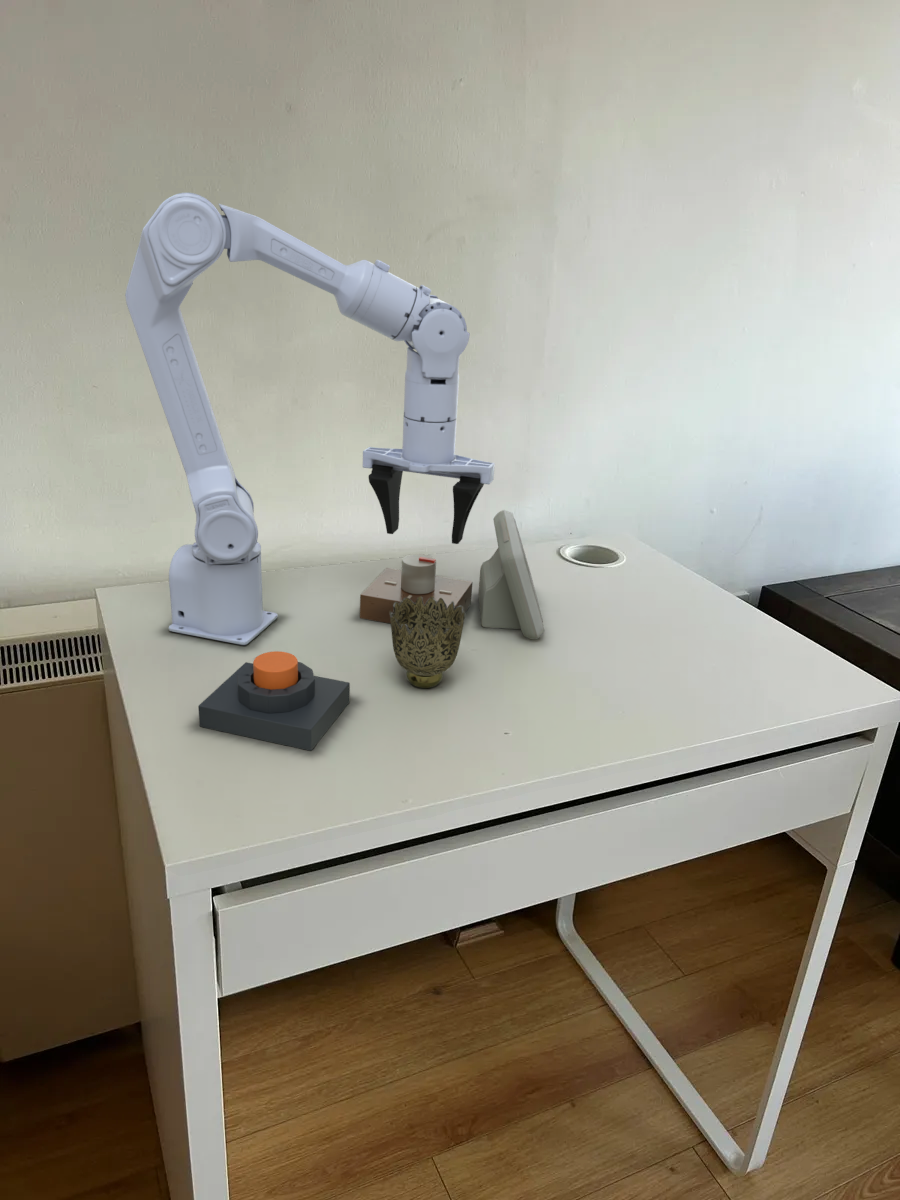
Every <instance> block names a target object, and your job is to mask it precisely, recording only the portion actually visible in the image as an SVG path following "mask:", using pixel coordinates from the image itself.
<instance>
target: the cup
mask: <svg viewBox="0 0 900 1200" xmlns="http://www.w3.org/2000/svg"><path fill="white" fill-rule="evenodd" d="M389 613H390V620H391V624H390V628H391V632H390V633H391V641H392V648H393V653H394V656H395V659H396V661H397V663H398V664H399V665H400V667H401V668H403V669H404V670H405V671H406V672H405V675H406V678H407V681H408V682H409V684H411V685H412V686H414V687H416V688H420V689H421V688H422V689H430V688H434V687H436V686H438V685H439V684H440V683H441V681H442V679H443V677H444V674H443V673H445V672H446V671H448V669H450V668H451V666H452V665H453V664H454V663H455V661H456V658H457V656H458V652H459V649H460V645H461V642H462V641H461V640H462V635H463V629H464V624H465V620H466V619H465V618H466V612H463V606H457V607H456V608H455V605H454V602H453V601H452V602H451V603H450V604H449V606H448V607H447V605H446V603H445V602H444V600H443V599H442V598H439V600H438V601H436V600H435V598H434V597H433V596H432V597H430V598H429V599H428V600H427V602H426V604H425V605H424V603H423V600H422V597H421V596H420V597H418V598H417V600H416V603H415V602H414V603H413V602H412V600H411V599H409V598H407V597H405V598H404V599H403V600H402V601H401V602H400V604H399V603H398V602H394V604H393V613H391V611H390V612H389Z"/></svg>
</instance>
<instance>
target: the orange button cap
mask: <svg viewBox="0 0 900 1200" xmlns="http://www.w3.org/2000/svg"><path fill="white" fill-rule="evenodd" d="M298 662H299V661H298V658H297V656H295V654H292V653H290V652H287V651H280V650H279V651H278V650H277V651H276V650H275V651H267V652H264V653H261V654H259V655H257V656H256V657H255V658H254V659H253V662H252V663H253V672H254V683H255V685H256V686H257V687H260V688H265V689H270V690H273V689H285V688H287V687H290V686H293V685H296V683H297V682H298Z"/></svg>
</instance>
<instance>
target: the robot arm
mask: <svg viewBox="0 0 900 1200" xmlns="http://www.w3.org/2000/svg"><path fill="white" fill-rule="evenodd" d="M217 204H218V206H219V209H220V210H221V212H223V214H221V213H220V212H219V210H218V209H217V208H216V205H214V204H213V202H211V201H210V200H209V199H208V198H206V197H205V196H202V195H201V194H197V193H196V192H195V193H194V192H189V191H188V192H179V193H176V194H173V195H172V196H170V197H167V198H166V199H165V200H164V201H162V202H161V203H160V204H159V205H158V207H157V209H156V210H155V211H154V213H153V214H152V215H151V216H150V218H149V220H148V221H147V222H146V223H145V225H144V226H143V228H142V230H141V234H140V238H139V242H138V245H137V246H138V247H137V250H136V253H135V257H134V261H133V265H132V267H131V270H130V275H129V277H128V282H127V285H126V289H125V295H124V296H125V303H126V307H127V310H128V312H129V314H130V318H131V321H132V324H133V327H134V330H135V332H136V336H137V338H138V341H139V344H140V347H141V349H142V353H143V355H144V358H145V361H146V364H147V367H148V369H149V372H150V373H149V374H150V375H151V378H152V381H153V384H154V387H155V389H156V392H157V395H158V398H159V402H160V404H161V407H162V410H163V412H164V416H165V419H166V422H167V424H168V427H169V430H170V433H171V435H172V439H173V442H174V444H175V447H176V451H177V453H178V455H179V458H180V462H181V464H182V467H183V471H184V472H185V475H186V480H187V484H188V490H189V493H190V498H191V502H192V504H193V508H194V511H195V526H194V539H195V542H193V543H192V544H191V543H187V544H183V545H181V546H179V548H178V549H177V550H176V551H175V552H174V554H173V556H172V558H171V561H170V565H169V569H168V587H169V599H170V610H171V611H170V612H171V613H170V614H171V624H170V625H169V626H168V631H170V632H173V633H178V634H183V635H188V636H193V637H197V638H199V637H200V638H205V639H209V640H215V641H218V642H219V641H220V642H224V643H231V644H235V645H241V646H247V645H248V644H249V643H250V642H252V641H253V640H255V638H256V637H258V635H260V634H261V633H262V632H263V631H264V630H265V629H266V628H267V627H269V625H271V624H272V623H273V622H274V621H275V620H276V619H278V616H279V615H278V613H277V612H275V611H268V610H264V607H263V605H264V604H263V575H262V572H263V571H262V545H261V544H260V543H259V541H258V539H259V528H258V524H257V522H256V519H255V515H254V513H255V512H254V511H255V508H254V507H255V506H254V501H253V497H252V495H251V494H250V492H249V490H247V489H246V488H245V486H244V485H242V483H241V482H240V481H239V480H238V478H237V476H236V473H235V470H234V467H233V465H232V463H231V460H230V458H229V455H228V453H227V449H226V446H225V443H224V440H223V436H222V434H221V431H220V428H219V427H220V426H219V424H218V422H217V418H216V415H215V412H214V409H213V405H212V403H211V400H210V396H209V393H208V390H207V387H206V384H205V381H204V378H203V375H202V371H201V368H200V366H199V363H198V359H197V357H196V353H195V351H194V347H193V344H192V341H191V338H190V335H189V332H188V329H187V326H186V323H185V319H184V316H183V313H182V310H181V305H182V303H183V301H184V300H185V298H186V296H187V295H188V293H189V291H190V289H191V288H192V286H193V284H194V281H195V280H196V279H197V278H198V277H199V276H200V275H202V274H203V273H205V271H207V270H208V269H209V268H210V267H211V266H212V265H213V264H215V263H216V262H217V260H219V258H220V257H221V256H222V255H223V252H224V250H226V257H227V258H228V262H230V263H235V262H249V261H250V262H251V261H261V262H264V263H266V264H268V265H270V266H272V267H274V268H276V269H278V270H281V271H282V272H284V273H287V274H289V275H291V276H293V277H295V278H297V279H300V280H302V281H304V282H306V283H308V284H310V285H312V286H314V287H317V288H318V289H320V290H323V291H325V292H327V293H329V294H332V295H333V296H334V298H335V301H336V304H337V308H338V311H339V312H340V314H341V315H342V316H343V317H346V318H348V319H351V320H353V321H355V322H357V323H358V324H361V325H362V326H364V327H367V328H369V329H371V330H372V331H374V332H376V333H378V334H381V336H384V337H387V338H388V339H391V340H393V341H394V342H404V343H405V344H406V346H407V348H406V369H405V372H404V393H403V394H404V395H403V396H404V397H403V398H404V399H403V418H402V419H403V421H402V448H393V447H391V448H389V447H373V446H369V447H367V448H365V449H363V450H362V468H363V469H371V471H370V472H371V473H370V474H368V482H369V484H370V486H371V488H372V490H373V491H374V493H375V496H376V497H377V501H378V503H379V505H380V509H381V512H382V516H383V520H384V524H385V529H386V530H385V531H386V534H387V535H388V534H389V535H394V534H395V532H397V530H398V529H399V525H400V495H401V486H402V479H403V473H404V472H407V473H414V474H421V475H428V476H429V475H431V476H437V477H444V478H453V479H459V481H456V483H454V485H453V486H452V497H453V498H452V499H453V521H452V529H451V544H454V545H458V544H460V543H461V541H462V540H463V537H464V533H465V528H466V525H467V521H468V518H469V516H470V513H471V511H472V508H473V506H474V505H475V502H476V501H477V498H478V496H479V494H480V492H481V491H482V489H483V487H484V485H491V484H492V482H493V481H494V478H495V477H494V476H495V465H496V464H495V462H491V461H485V460H480V459H474V458H471V457H467V456H464V455H459V454H456V437H457V421H458V407H459V406H458V404H459V403H458V402H459V389H460V387H459V386H460V374H459V373H460V358H461V355H462V354H463V353H464V351H465V350H466V348H467V346H468V344H469V341H470V336H471V334H470V332H468V327H467V322H466V319H465V317H464V316H463V315H462V312H461V311H460V310H459V309H458V308H457V307H455V306H454V305H452V304H451V303H448V302H446V301H444V300H441V299H439V296H437V295H434V294H431V293H432V289H431V288H429V287H428V286H425V285H424V284H420V285H419V287H418V286H416V285H414V284H412V283H410V282H409V281H408V280H404V279H403V278H401V277H399V276H397V275H396V274H393V273H391V272H390V269H391V266H390V265H389V264H388V263H386V262H384V261H382V260H381V259H376V260H375V261H374V263H373V262H371V261H370V260H367V259H361V260H358V261H356V262H353V263H350V264H344V263H342V262H340V261H339V260H337V259H335V258H333V257H332V256H329V255H328V254H326V253H325V252H322V251H320V250H319V249H317V248H316V247H313V246H312V245H310V244H308V243H306V242H305V241H303V240H301V239H299V238H297V237H296V236H294V235H292V234H290V233H288V232H286V231H284V230H283V229H281V228H279V227H277V226H276V225H274V224H273V223H271V222H268V221H267V220H265V219H263V218H261V217H260V216H257V215H254V214H252V213H249V212H246V211H243V210H240V209H238V208H235V207H232V206H229V205H226V204H222V203H220V202H219V203H217Z"/></svg>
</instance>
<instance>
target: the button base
mask: <svg viewBox="0 0 900 1200" xmlns="http://www.w3.org/2000/svg"><path fill="white" fill-rule="evenodd" d="M350 688H351V687H350V682H349V681H344V680H339V679H333V678H330V677H329V678H328V677H325V676H324V677H323V676H319V675H314V671H313V668H311V667H309V665H306V664H304V663H303V662H301V661H298V682H297V683H296V685H293V686H290V687H287V688H285V689H273V690H270V689H265V688H260V687H257V686H256V685H255V683H254V672H253V662H247V661H246V662H244V663H243V664H242V665H241V666H240V667H239V668H237V670H236V671H235V672H233V674H231V675H230V676H229V677H228V678H226V680H225V681H223V683H221V684H220V685H219V686H218V687H217V688H216V689H215V690H214V691H213V692H212V693H211V694H209V695H208V696H207V697H206V698H205V699H204V700H203V701H202V702H201V703H200V704H198V720H199V721H198V723H199V727H201V728H205V729H208V730H214V731H219V732H223V733H228V734H232V735H237V736H241V737H245V738H250V739H254V740H258V741H259V740H260V741H265V742H270V743H274V744H278V745H283V746H288V747H292V748H296V749H301V750H305V751H310V752H311V751H313V750H314V748H315V747H316V745H317V744H318V743H319V742H320V740H321V739H322V738H323V737H324V735H325V734H326V733H327V732H328V730H329V729H330V728H331V726H332V725H333V724H334V723H335V721H336V720H338V719H337V718H339V716H340V715H341V713H342V712H343V711H344V710H345V708H346V707H347V706H348V705H349V703H350V697H351V696H350V693H351V692H350V690H351V689H350Z"/></svg>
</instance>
